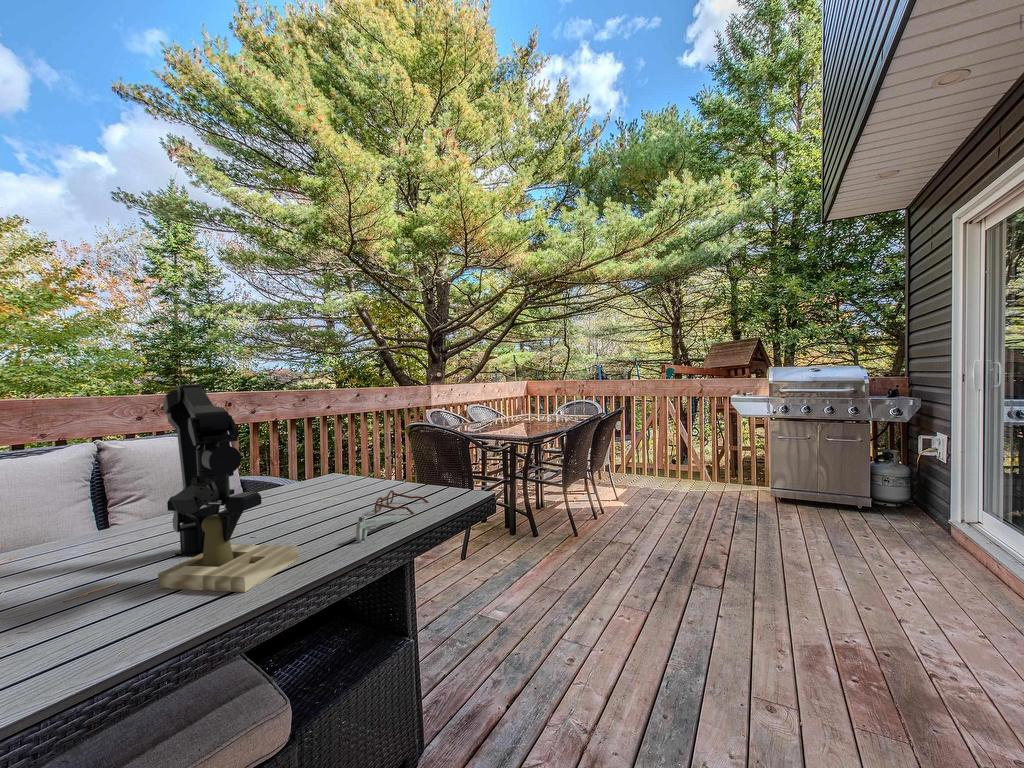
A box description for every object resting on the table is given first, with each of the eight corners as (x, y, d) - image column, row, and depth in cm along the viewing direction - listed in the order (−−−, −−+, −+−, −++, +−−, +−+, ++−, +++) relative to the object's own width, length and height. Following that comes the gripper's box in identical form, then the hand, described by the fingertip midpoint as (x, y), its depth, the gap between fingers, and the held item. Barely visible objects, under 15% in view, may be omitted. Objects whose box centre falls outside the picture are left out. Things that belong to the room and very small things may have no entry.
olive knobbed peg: (205, 563, 101) (203, 513, 100) (237, 558, 103) (234, 509, 103) (197, 574, 95) (194, 521, 95) (231, 568, 97) (228, 517, 97)
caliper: (360, 543, 113) (359, 518, 113) (356, 543, 114) (355, 518, 114) (402, 518, 133) (401, 497, 133) (399, 518, 133) (398, 497, 133)
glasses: (391, 503, 151) (391, 488, 151) (429, 503, 149) (428, 488, 149) (373, 515, 138) (372, 499, 138) (414, 516, 136) (413, 499, 136)
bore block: (158, 588, 92) (157, 573, 92) (222, 557, 108) (221, 544, 108) (245, 592, 88) (244, 577, 88) (298, 559, 104) (297, 546, 104)
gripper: (140, 477, 92) (144, 553, 93) (220, 477, 89) (224, 556, 89) (188, 466, 103) (192, 534, 103) (261, 465, 100) (265, 536, 100)
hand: (216, 540), depth 99 cm, fingers closed on olive knobbed peg, 5 cm apart
